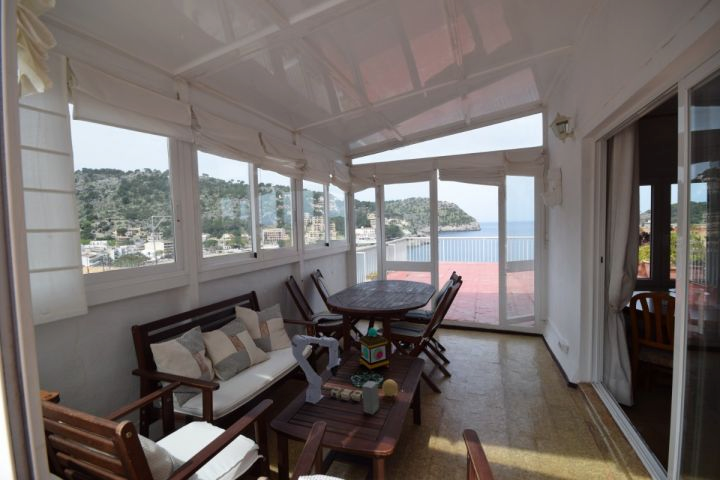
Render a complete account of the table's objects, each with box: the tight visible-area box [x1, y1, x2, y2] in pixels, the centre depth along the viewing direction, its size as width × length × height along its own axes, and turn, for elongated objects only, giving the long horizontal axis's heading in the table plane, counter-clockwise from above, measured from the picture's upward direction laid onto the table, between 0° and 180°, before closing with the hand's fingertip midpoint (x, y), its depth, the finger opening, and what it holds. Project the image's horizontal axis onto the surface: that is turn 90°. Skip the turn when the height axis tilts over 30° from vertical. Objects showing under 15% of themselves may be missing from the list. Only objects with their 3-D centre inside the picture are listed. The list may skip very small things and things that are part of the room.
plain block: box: [340, 389, 353, 401], centre depth 201 cm, size 5×5×4 cm
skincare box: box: [361, 380, 380, 415], centre depth 187 cm, size 8×7×16 cm
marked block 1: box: [330, 386, 343, 399], centre depth 204 cm, size 5×5×4 cm
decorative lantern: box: [358, 327, 390, 373], centre depth 242 cm, size 20×20×30 cm
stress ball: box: [381, 378, 399, 397], centre depth 201 cm, size 10×10×10 cm
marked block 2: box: [351, 389, 363, 402], centre depth 199 cm, size 5×5×4 cm
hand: (334, 375), depth 211 cm, fingers closed
